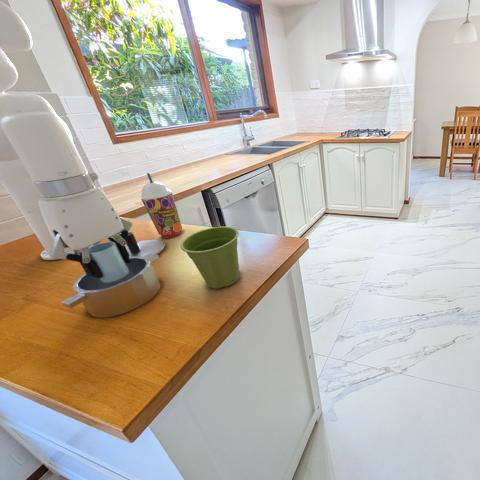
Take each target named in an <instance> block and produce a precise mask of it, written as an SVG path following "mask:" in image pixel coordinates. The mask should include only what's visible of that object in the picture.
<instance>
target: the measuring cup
mask: <svg viewBox="0 0 480 480" xmlns="http://www.w3.org/2000/svg"><path fill="white" fill-rule="evenodd" d="M89 254H90V259H91V260H94V261H95V262H96V263H97V265H98V267H99V269H100V270H101V272H102V274H103V277H102V278H100V280H101V282H104V283H107V282H113V281H116V280H119V279H121V278H123V277H125V276H126V275H127V274H128V273H129V270H128V267H127V265H126V263H125V261H124V259H123V257H122V255H121V253H120V251H119V249H118V247H117V245H116V243H114V242H110V241H104V242H99V243H96V244H94V245H93V246H92V247H89Z"/></svg>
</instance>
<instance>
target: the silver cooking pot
mask: <svg viewBox="0 0 480 480" xmlns="http://www.w3.org/2000/svg"><path fill="white" fill-rule="evenodd" d="M158 254H159V253H158ZM158 254H152V253H150V254H148V255H146V256H144V257H140V256H136V257H129V258H130V260H131V262H130V263H126V265H127V267H128V270H129V273H128V274H127V275H126V276H125V277H123V278H121V279H119V280H116V281H113V282H107V283H104V282H101V280H100V279H99V278H95V277H91V276H88V275H87V274H86V272H84V273H83V274H82V275H80V276H79V277H77V279H76V280H75V281H74V283H73V284H72V288H73V290H74V292H75V294H74V295H71V296H70V297H68V298H66V299H64V300H63V301H61V304H62V306H63V307H66V308H70V309H73V308H75V307H76V306H78V305H80V304H81V303H82V304H83V306H84V308H85V309H86V311H87V312H88V314H90V315H91V316H92V317H94V318H111V317H116V316H120V315H122V314H125V313H128V312H131V311H133V310H135V309H138V308H140V307H141V306H143V305H145V304H146V303H148V302H150V300H152V299H153V298H154V297H155V296H156V295H157V294H158V292H159V291H160V289H161V282H160V279H159V277H158V275H157V273H156V271H155V269H154V266H153V264H152V262H154V261H156V260H158V259H159V258H160V257H159V255H158Z"/></svg>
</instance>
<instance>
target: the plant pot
mask: <svg viewBox="0 0 480 480" xmlns="http://www.w3.org/2000/svg"><path fill="white" fill-rule="evenodd" d="M239 235H240V232H239V230H238V229H237V228H235V227H232V226H214V227H208V228H205V229H201V230H199V231H196V232H193V233H192V234H189V235H188V236H186V237H185V238H184V239H182V241H181V243H180V245H179V246H180V249H181V250H182V252H185V253H186V254H187V256H188V257H189V259H190V260H192V262H193V264H194V265H195V267H196V269H197V270H198V272H199V273H200V275H201V277H202V278H203V280H204V281H205V283H206V285H207V286H208V287H209V288H211V289H215V290H216V289H217V290H218V289H221V288H224V287H225V288H226V287H229V286H231V285H233V284H234V283H236V282H237V281H238V280H239V279H240V266H239V265H240V264H239V254H238V253H239V252H238V244H239V243H238V237H239Z"/></svg>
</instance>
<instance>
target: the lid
mask: <svg viewBox="0 0 480 480" xmlns="http://www.w3.org/2000/svg"><path fill="white" fill-rule="evenodd" d="M165 244H166V243H165V242H164V241H163V240H161V239H145V240H139V241H137V239H136V237H135V235H134V232H131V231H128V236H127V238H126V245H125V247H126V249H127V251H128V253H129V255H130V256H129V257H136V256H140V257H144V256H146V255H148V254H150V253H152V254H160V253H161V252H162V251H163V250H164V249H165V246H166V245H165Z"/></svg>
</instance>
